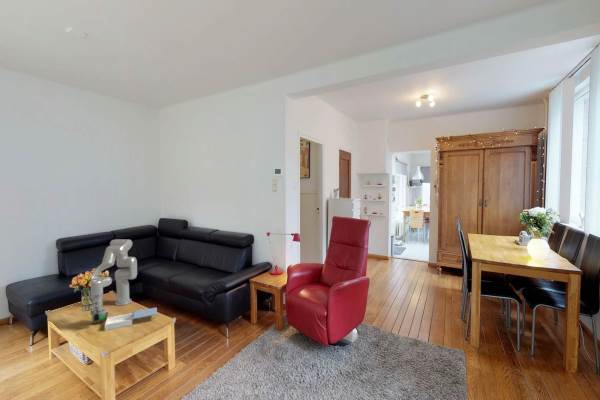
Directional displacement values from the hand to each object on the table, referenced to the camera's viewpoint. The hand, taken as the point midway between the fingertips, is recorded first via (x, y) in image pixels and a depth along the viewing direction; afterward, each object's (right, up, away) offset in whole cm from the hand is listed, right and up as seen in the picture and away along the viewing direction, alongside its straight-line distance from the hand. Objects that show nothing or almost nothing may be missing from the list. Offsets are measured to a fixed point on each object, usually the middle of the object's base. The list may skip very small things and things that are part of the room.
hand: (97, 317), depth 214 cm
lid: (+33, 0, +7) cm, 33 cm away
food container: (0, -5, +1) cm, 5 cm away
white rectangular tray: (+17, -5, 0) cm, 18 cm away
